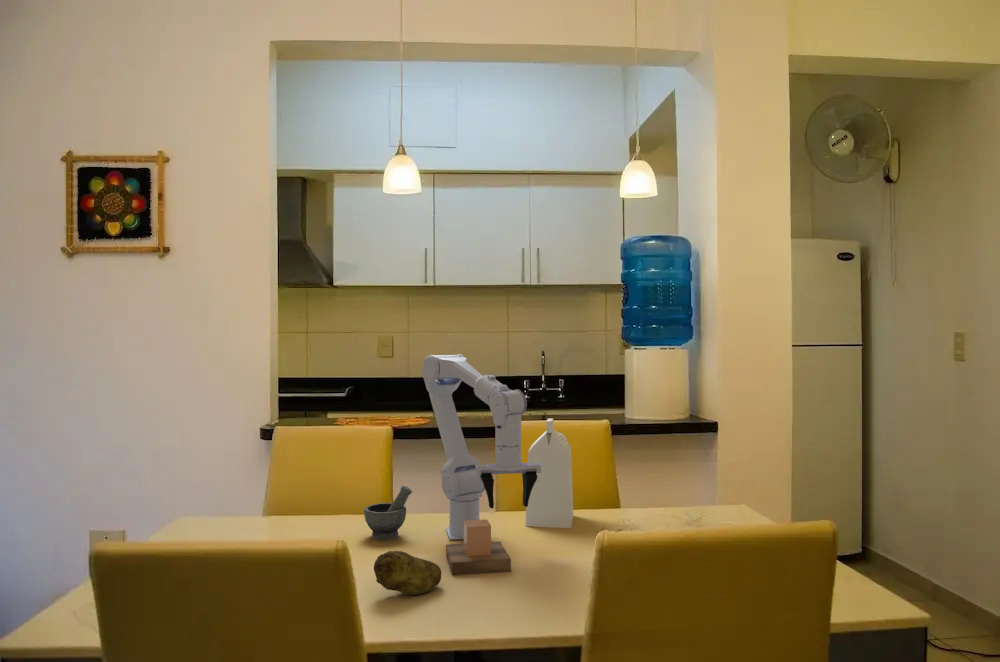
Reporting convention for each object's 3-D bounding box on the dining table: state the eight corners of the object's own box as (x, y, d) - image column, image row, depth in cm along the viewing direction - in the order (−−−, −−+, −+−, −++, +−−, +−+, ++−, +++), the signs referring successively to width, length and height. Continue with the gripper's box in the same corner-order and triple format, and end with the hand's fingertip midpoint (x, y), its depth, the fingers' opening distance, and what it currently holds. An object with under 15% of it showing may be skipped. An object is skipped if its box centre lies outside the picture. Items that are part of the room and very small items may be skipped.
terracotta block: (463, 548, 148) (463, 520, 148) (486, 547, 149) (486, 519, 149) (467, 556, 143) (467, 526, 143) (491, 554, 144) (491, 525, 144)
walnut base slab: (445, 556, 151) (445, 544, 151) (500, 553, 153) (500, 541, 153) (451, 575, 139) (451, 562, 139) (510, 571, 141) (510, 559, 141)
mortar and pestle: (361, 543, 161) (361, 491, 161) (366, 531, 170) (366, 482, 170) (410, 542, 161) (410, 490, 161) (413, 530, 171) (413, 481, 171)
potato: (446, 598, 127) (446, 554, 127) (374, 604, 124) (374, 559, 124) (439, 582, 135) (439, 541, 135) (372, 588, 132) (372, 545, 132)
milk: (529, 514, 186) (529, 416, 186) (573, 515, 185) (573, 417, 185) (525, 526, 174) (525, 422, 175) (571, 528, 173) (571, 423, 173)
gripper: (478, 449, 149) (478, 512, 149) (544, 446, 152) (544, 509, 152) (473, 443, 156) (474, 504, 156) (537, 441, 159) (537, 501, 159)
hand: (508, 506), depth 155 cm, fingers open, 7 cm apart
